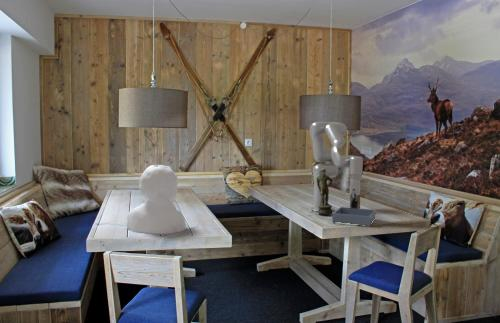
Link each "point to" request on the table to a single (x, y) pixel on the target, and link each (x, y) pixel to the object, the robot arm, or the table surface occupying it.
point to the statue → (324, 192)
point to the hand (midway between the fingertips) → (355, 206)
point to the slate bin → (354, 216)
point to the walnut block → (357, 202)
